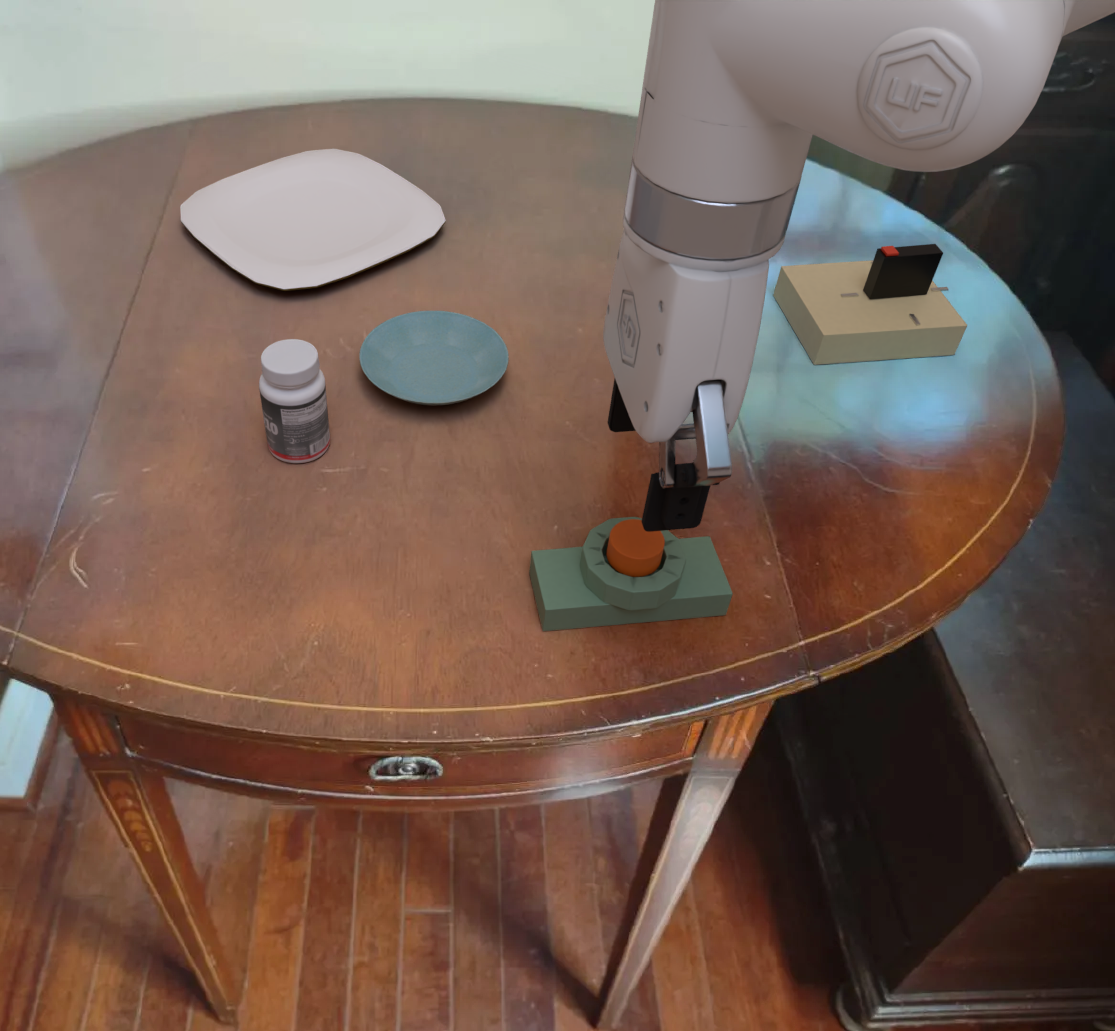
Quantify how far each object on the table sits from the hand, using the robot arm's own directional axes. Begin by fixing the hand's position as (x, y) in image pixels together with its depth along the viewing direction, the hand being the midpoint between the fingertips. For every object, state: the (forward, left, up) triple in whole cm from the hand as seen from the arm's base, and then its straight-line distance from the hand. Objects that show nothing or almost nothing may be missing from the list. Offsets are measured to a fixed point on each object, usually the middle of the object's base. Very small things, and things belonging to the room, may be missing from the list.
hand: (651, 473), depth 61 cm
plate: (+19, -48, -11) cm, 53 cm away
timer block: (0, 0, -11) cm, 11 cm away
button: (0, 0, -7) cm, 7 cm away
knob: (-29, -27, -8) cm, 40 cm away
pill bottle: (+21, -17, -11) cm, 29 cm away
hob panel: (-27, -27, -11) cm, 40 cm away
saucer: (+10, -24, -11) cm, 28 cm away
